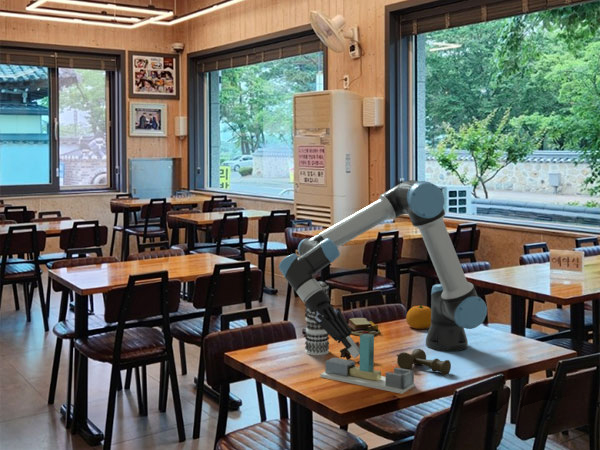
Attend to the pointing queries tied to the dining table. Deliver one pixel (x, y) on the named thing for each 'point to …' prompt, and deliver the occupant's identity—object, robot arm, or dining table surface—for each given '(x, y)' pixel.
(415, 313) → the fruit
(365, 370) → the two-tone teal block
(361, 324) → the toy sandwich meal
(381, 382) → the base board
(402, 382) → the socket
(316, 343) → the decorative candle
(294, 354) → the dining table surface
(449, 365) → the kendama
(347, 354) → the brown grey jagged ring
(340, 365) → the sleeve
